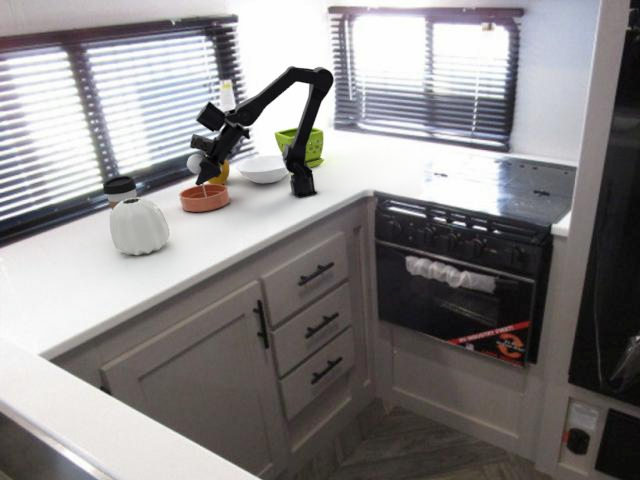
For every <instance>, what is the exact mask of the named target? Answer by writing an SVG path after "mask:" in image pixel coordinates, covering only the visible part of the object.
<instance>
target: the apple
mask: <svg viewBox="0 0 640 480" xmlns="http://www.w3.org/2000/svg"><path fill="white" fill-rule="evenodd" d="M203 154H205V152H204V153H203ZM203 154H201V155H202V156H203ZM205 155H206V154H205ZM219 164H220V163H219ZM220 165H221V164H220ZM221 167H222V172H221V174H220V175H219V177H218V178H217V177H214V178H212V179H210V180H208V181H207V182H208V184H221V185H224V184H226V182H227V181H228V178H229V175H230V163H229V161H228V158H227V159H226V161H225V163H224V165H221Z"/></svg>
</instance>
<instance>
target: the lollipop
mask: <svg viewBox="0 0 640 480" xmlns="http://www.w3.org/2000/svg"><path fill="white" fill-rule="evenodd" d="M202 155H203V154H200V153H194V154H192V155H190V156H189V157H188V159H187V162H186V167H187V169H188V170H189V171H190V172H191V173H193V174H195V175H199V174H200V171H201V167H200V166H199V163H200V161H201V160H202V158H203V157H204V156H202ZM201 185H202V186H203V190H204V194H205V197H207V196H206V192H205V188H204V185H205V183H203V184H201Z"/></svg>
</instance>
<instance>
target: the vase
mask: <svg viewBox="0 0 640 480" xmlns="http://www.w3.org/2000/svg"><path fill="white" fill-rule="evenodd" d="M109 227H110V236H111V239H112V243H113V245H114V247H115V249H117V250H119V251H120V252H122V253H124V254H125V255H128V256H129V255H131V256H132V255H135V256H142V255H144V254H145V255H147V254H148V255H149V254H150V253H152V252H156V251H159V250H160V249H161V248H162V247H164V246H166V244H167V242H168V239H169V238H170V234H171V232H170V227H169V224H168V221H167V219H166V217H165V215H164V213H163V211H162V210H161V208H160V207H159V206H158V205H157V204H155V203H154V202H152V201H151V200H148V199H146V198H142V197H139V196H138V197H137V198H130V199H125V200H123V201H121V202H120V203H118V204H117V205H116V206H115V207H114V209H113V210H112V209H111V211H110V213H109Z"/></svg>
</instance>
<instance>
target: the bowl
mask: <svg viewBox="0 0 640 480" xmlns="http://www.w3.org/2000/svg"><path fill="white" fill-rule="evenodd" d="M235 170H237V171H238V172H239V173H240V175H241V177H242V178H245V179H247V180H249V181H250V182H253V183H256V184H273V183H276V182H278V181H280V180H281V179H283V178H285V177H286V176H287V175H288V174H289V173H290V172H289V171H288V170H287V168H286V166H285V165H284V163H283V157H282V154H280V155H277V154H276V155H273V154H272V155H261V156H257V157H252V158H248V159H245V160H242V161H240V162H239V163H237V164H236V165H235Z"/></svg>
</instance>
